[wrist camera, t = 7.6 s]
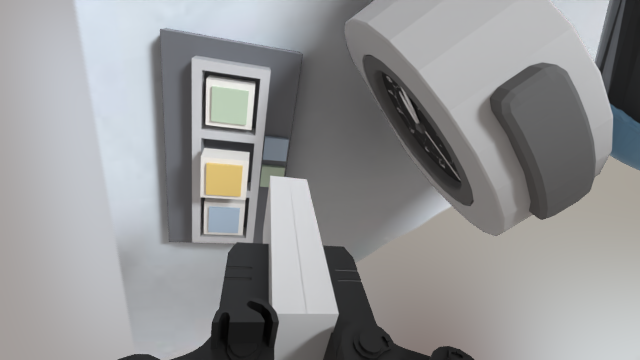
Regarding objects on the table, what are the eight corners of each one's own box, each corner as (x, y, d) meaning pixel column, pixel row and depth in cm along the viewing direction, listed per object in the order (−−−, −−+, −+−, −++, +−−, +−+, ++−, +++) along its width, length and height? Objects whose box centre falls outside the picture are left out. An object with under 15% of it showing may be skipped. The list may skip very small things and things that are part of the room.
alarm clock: (328, 18, 29) (428, 21, 12) (394, -34, 28) (610, -113, 11) (419, 174, 39) (545, 298, 22) (470, 140, 38) (645, 241, 21)
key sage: (209, 74, 28) (205, 79, 26) (255, 81, 28) (255, 86, 26) (208, 118, 29) (205, 125, 27) (251, 123, 30) (251, 131, 28)
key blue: (207, 191, 33) (203, 203, 31) (245, 194, 34) (245, 205, 32) (206, 223, 34) (203, 235, 32) (243, 224, 35) (242, 237, 33)
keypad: (166, 28, 27) (152, 30, 24) (300, 52, 30) (305, 56, 27) (173, 231, 37) (164, 253, 33) (274, 234, 40) (276, 255, 36)
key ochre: (204, 147, 28) (200, 157, 26) (249, 152, 29) (249, 162, 27) (203, 186, 30) (199, 198, 28) (246, 189, 31) (245, 201, 29)
